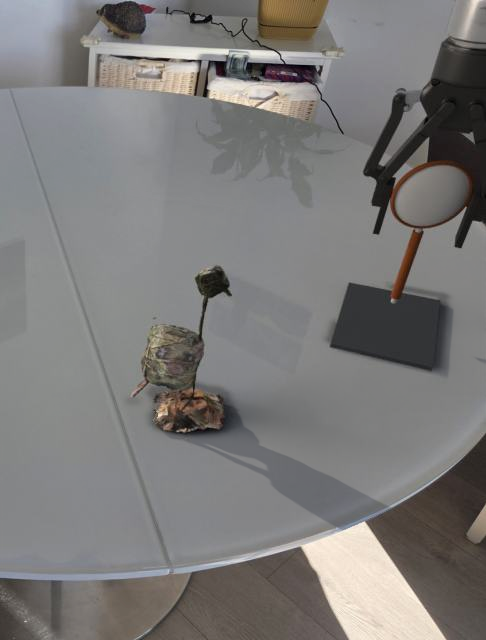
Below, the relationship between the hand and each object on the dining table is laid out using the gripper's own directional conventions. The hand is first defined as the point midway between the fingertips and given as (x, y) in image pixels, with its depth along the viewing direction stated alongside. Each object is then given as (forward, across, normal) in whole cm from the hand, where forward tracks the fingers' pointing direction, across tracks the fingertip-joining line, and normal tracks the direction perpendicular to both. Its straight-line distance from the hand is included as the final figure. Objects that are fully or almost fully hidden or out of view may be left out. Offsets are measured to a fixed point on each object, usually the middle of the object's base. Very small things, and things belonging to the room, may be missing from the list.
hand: (416, 235), depth 79 cm
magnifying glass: (+10, 0, 0) cm, 10 cm away
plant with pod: (+14, -20, -28) cm, 37 cm away
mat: (+14, 0, 0) cm, 14 cm away
